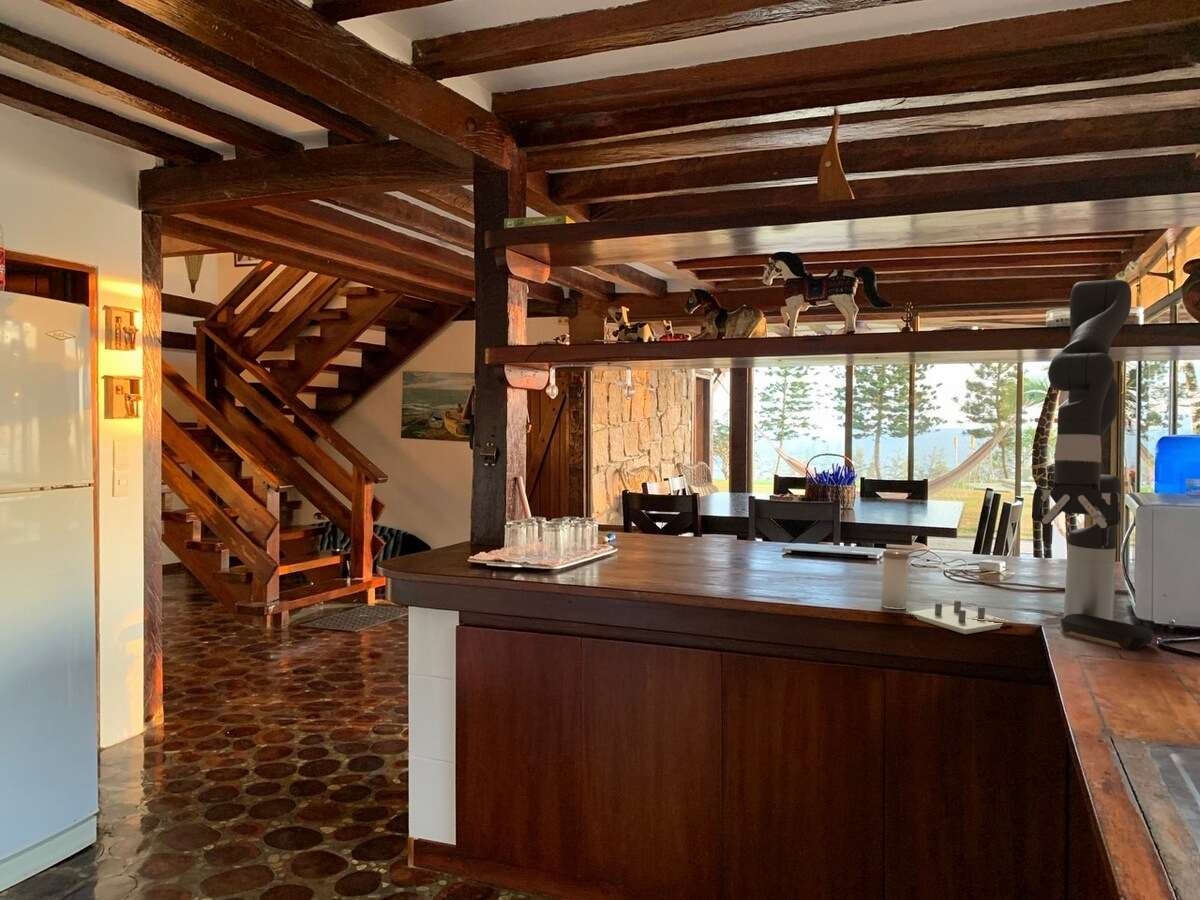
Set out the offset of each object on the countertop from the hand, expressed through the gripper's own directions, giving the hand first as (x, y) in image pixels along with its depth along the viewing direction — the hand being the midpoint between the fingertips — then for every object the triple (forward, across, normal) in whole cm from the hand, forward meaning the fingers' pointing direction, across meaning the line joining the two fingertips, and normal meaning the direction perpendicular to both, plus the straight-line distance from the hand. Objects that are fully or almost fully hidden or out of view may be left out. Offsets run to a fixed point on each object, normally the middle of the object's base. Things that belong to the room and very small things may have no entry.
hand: (1074, 546), depth 154 cm
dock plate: (+20, +25, -17) cm, 36 cm away
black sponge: (+20, -2, -25) cm, 32 cm away
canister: (+19, +40, -19) cm, 49 cm away
